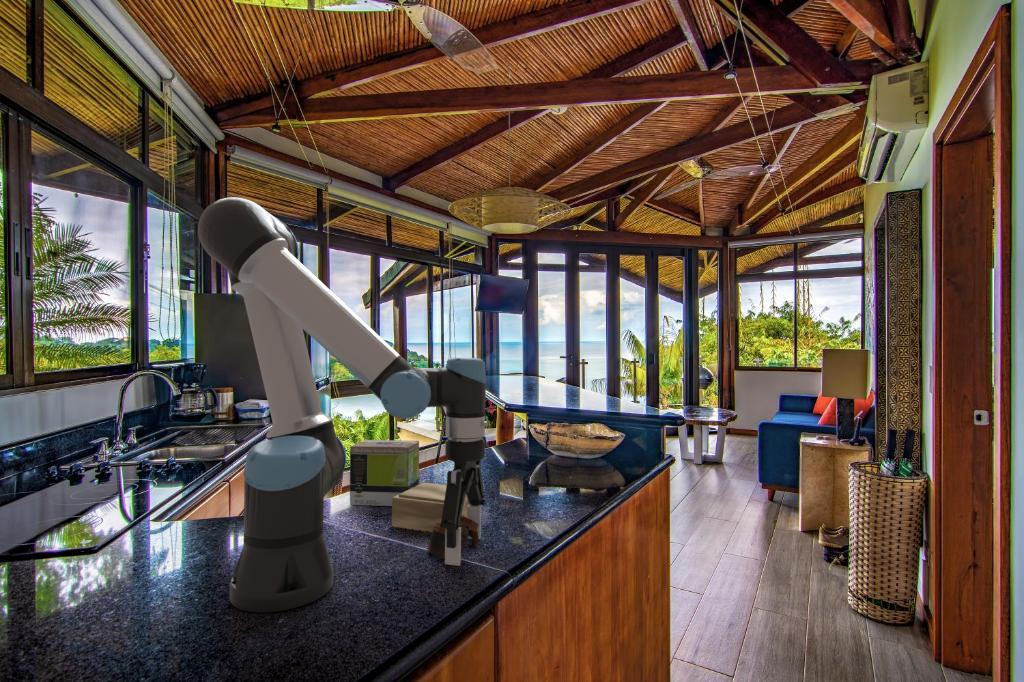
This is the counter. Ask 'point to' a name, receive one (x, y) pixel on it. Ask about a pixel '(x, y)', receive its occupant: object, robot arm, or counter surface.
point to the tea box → (382, 470)
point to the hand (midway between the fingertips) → (463, 550)
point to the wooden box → (421, 507)
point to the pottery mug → (438, 536)
